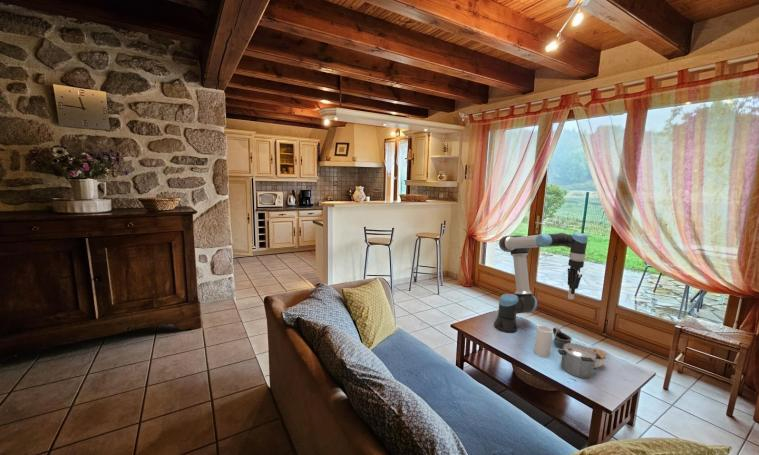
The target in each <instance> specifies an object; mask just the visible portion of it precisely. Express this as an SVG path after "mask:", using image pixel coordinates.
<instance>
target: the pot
mask: <svg viewBox="0 0 759 455" xmlns="http://www.w3.org/2000/svg"><path fill="white" fill-rule="evenodd" d="M557 353H558V354H559V355H560V356H561V362H560V367H561V369H562V371H565V372H566V373H567V374H568V375H571V376H573V377H575V378H580V379H591V378H593V375H594V369H595V368H594V364H595V359H594V360H593V361H594V362H588V361H583V360H582V359H578V358H575V357H573V356H571V355H569V354H568V353H566V352H565V351H564V349H563V348H562V349H557ZM596 359H601V357H600V356H599V355H598V354H596Z"/></svg>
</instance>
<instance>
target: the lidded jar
mask: <svg viewBox="0 0 759 455" xmlns="http://www.w3.org/2000/svg"><path fill="white" fill-rule="evenodd" d="M586 347H587V348H589V349H591V350H593V351H594V352H595V353H596V354H598V355H599V356H600V357H601V359H595V364H594V369H598V368H600V367H602V366H603V365H604V364H605V362H606V358H607V355H606V353H605V352H603V351H602V350H600V349H597V348H596V347H595V348H594V347H588V346H586Z"/></svg>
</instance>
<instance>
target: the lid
mask: <svg viewBox="0 0 759 455" xmlns="http://www.w3.org/2000/svg"><path fill="white" fill-rule="evenodd" d="M587 347H588V346H585V345H582V344H578V343H572V342H571V343H567V344H565V345H564V346H563V348H562V350H563V349H564V351H565V352H566V353H568V354H569V355H571V356H573V357H575V358H578V359H582V360H583V361H588V362H594V361H593V360H594V359H596V353H595V352H594V351H593V350H591V349H589V348H590V347H589V348H587Z"/></svg>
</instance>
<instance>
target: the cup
mask: <svg viewBox="0 0 759 455" xmlns="http://www.w3.org/2000/svg"><path fill="white" fill-rule="evenodd" d="M553 334H554V333H553V328H551V327H550V326H547V325H543V324H542V325H541V324H540V325H538V326H537V327H536V334H535V341H534V346H533V347H534V350H533V353H534V354H535V355H536V356H539V357H540V358H541V357H542V358H549V357H550V353H551V352H550V351H551V346H552V345H551V344H552V340H553Z"/></svg>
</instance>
